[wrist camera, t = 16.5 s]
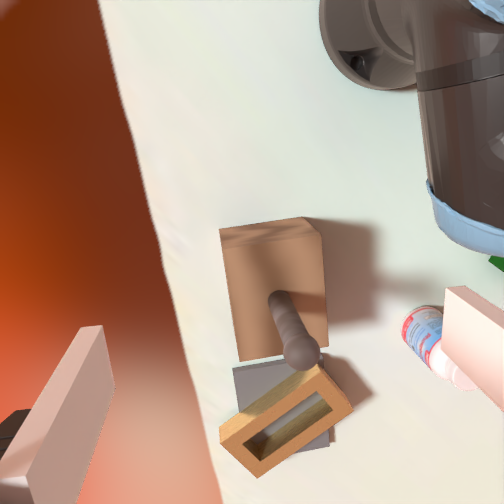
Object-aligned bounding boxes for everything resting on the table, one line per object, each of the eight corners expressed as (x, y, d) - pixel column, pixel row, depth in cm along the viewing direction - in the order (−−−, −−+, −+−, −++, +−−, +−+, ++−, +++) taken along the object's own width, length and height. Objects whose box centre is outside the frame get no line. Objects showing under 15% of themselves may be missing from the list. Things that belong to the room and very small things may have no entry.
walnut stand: (302, 216, 49) (365, 275, 30) (310, 313, 53) (370, 417, 34) (218, 229, 48) (231, 297, 29) (233, 326, 52) (253, 440, 34)
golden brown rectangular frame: (346, 396, 56) (353, 410, 53) (254, 461, 58) (257, 478, 55) (314, 358, 54) (320, 371, 51) (219, 427, 55) (220, 443, 52)
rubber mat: (320, 352, 55) (322, 356, 54) (327, 441, 60) (329, 446, 59) (232, 368, 54) (233, 372, 53) (246, 456, 59) (247, 462, 58)
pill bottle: (395, 312, 54) (443, 359, 44) (438, 299, 55) (496, 342, 44) (402, 350, 56) (449, 403, 46) (443, 337, 57) (500, 387, 46)
